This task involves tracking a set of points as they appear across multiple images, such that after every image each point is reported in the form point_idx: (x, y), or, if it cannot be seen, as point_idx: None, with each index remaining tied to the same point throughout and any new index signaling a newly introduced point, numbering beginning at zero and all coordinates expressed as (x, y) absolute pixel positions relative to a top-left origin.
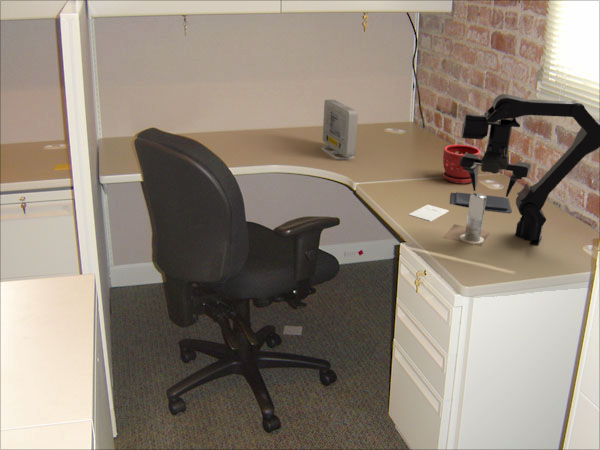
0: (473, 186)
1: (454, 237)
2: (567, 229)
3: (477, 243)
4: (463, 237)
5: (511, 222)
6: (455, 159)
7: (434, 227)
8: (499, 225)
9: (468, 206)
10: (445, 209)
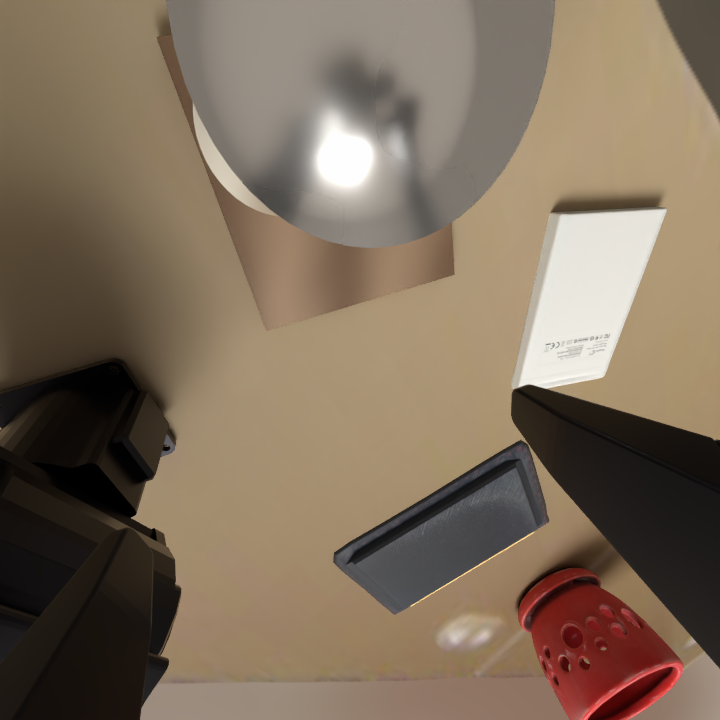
0: (579, 404)
1: None
2: None
3: None
4: None
5: (281, 502)
6: (628, 648)
7: (523, 180)
8: (298, 444)
9: (471, 484)
10: None
